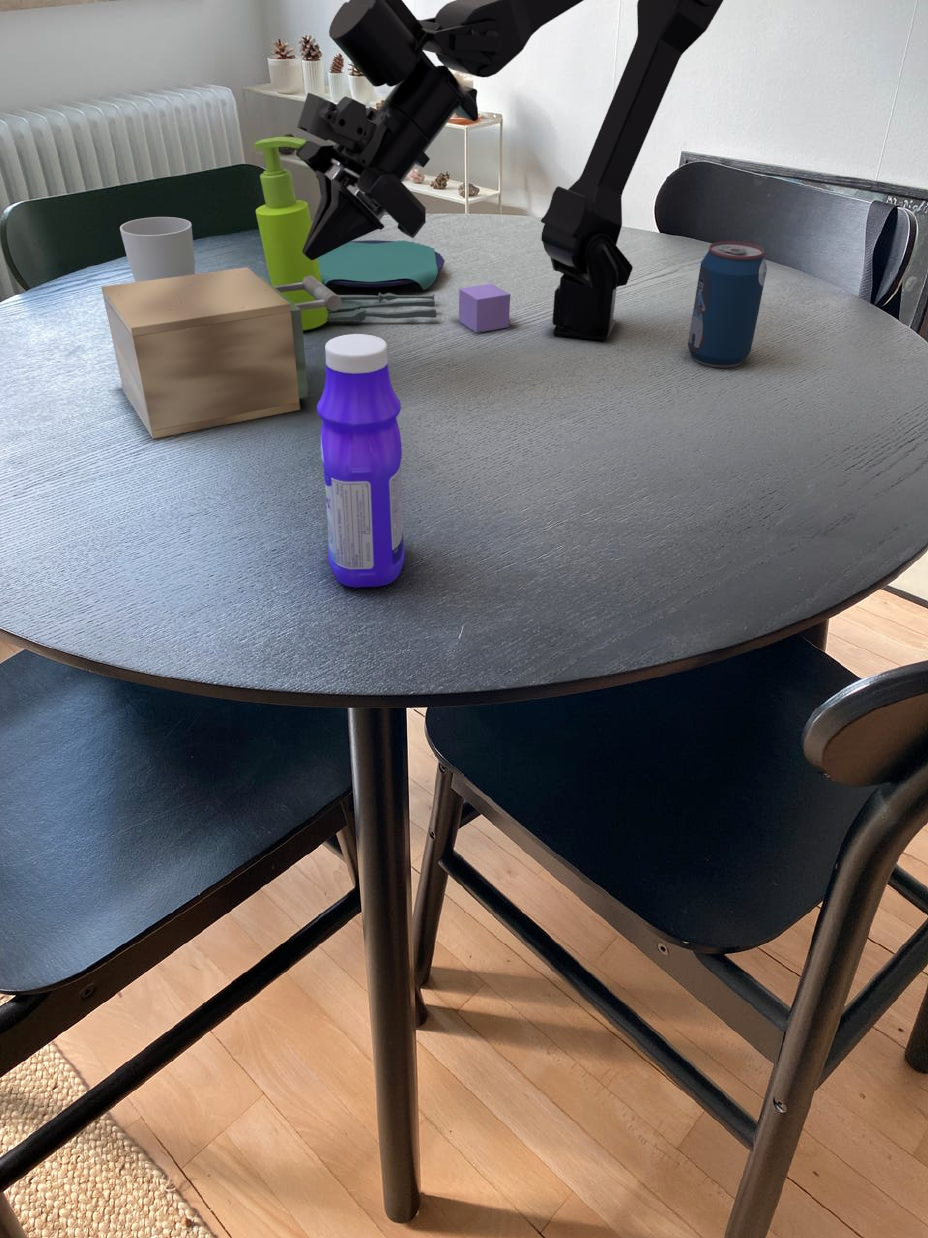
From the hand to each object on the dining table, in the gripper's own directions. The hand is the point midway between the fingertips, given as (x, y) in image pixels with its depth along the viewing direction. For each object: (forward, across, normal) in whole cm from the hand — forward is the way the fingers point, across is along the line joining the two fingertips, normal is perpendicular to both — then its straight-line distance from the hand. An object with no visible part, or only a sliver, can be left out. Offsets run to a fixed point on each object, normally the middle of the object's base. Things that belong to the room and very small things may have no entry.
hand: (306, 256), depth 93 cm
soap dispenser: (+5, -16, +13) cm, 21 cm away
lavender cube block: (-8, -7, +26) cm, 28 cm away
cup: (+15, -28, +3) cm, 32 cm away
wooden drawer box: (+17, 0, +1) cm, 17 cm away
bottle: (+16, +35, +2) cm, 39 cm away
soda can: (-21, +14, +39) cm, 47 cm away
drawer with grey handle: (+13, 0, +3) cm, 14 cm away
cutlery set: (-4, -26, +22) cm, 34 cm away
